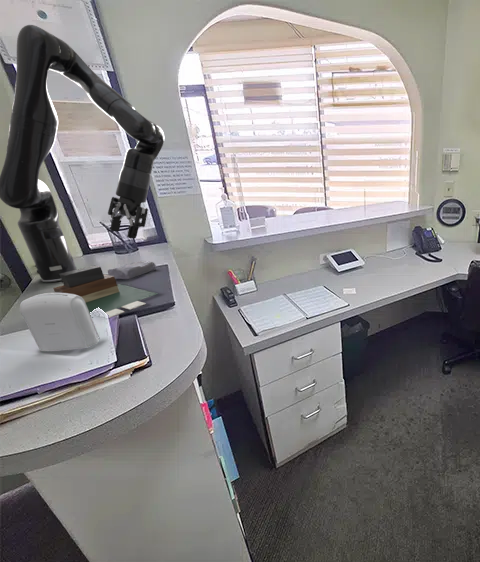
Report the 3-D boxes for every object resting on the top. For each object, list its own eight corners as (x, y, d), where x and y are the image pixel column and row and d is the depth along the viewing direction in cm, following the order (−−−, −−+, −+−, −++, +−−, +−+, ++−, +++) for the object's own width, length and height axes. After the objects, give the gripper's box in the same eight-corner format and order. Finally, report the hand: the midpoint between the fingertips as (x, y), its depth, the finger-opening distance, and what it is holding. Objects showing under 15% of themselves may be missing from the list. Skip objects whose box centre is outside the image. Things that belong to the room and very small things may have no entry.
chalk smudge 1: (99, 317, 78) (98, 314, 78) (117, 311, 82) (116, 308, 81) (107, 320, 77) (106, 317, 76) (125, 314, 80) (124, 311, 80)
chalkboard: (36, 311, 82) (35, 309, 82) (120, 285, 99) (119, 283, 99) (74, 326, 74) (73, 324, 74) (158, 295, 91) (158, 293, 91)
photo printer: (36, 354, 63) (9, 299, 59) (54, 343, 67) (30, 291, 63) (90, 351, 64) (67, 296, 60) (104, 340, 68) (84, 288, 64)
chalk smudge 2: (122, 309, 83) (121, 306, 82) (138, 303, 86) (137, 300, 86) (130, 311, 81) (129, 309, 81) (146, 305, 84) (146, 303, 84)
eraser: (60, 304, 84) (47, 275, 81) (110, 289, 95) (100, 262, 92) (69, 308, 82) (56, 278, 79) (119, 291, 93) (110, 264, 90)
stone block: (107, 284, 105) (129, 280, 102) (101, 271, 104) (123, 266, 101) (139, 274, 116) (160, 270, 113) (134, 261, 115) (154, 257, 112)
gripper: (161, 193, 97) (149, 242, 99) (132, 182, 102) (121, 230, 104) (136, 186, 90) (123, 239, 92) (106, 175, 95) (95, 226, 97)
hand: (122, 234), depth 98 cm, fingers open, 8 cm apart
